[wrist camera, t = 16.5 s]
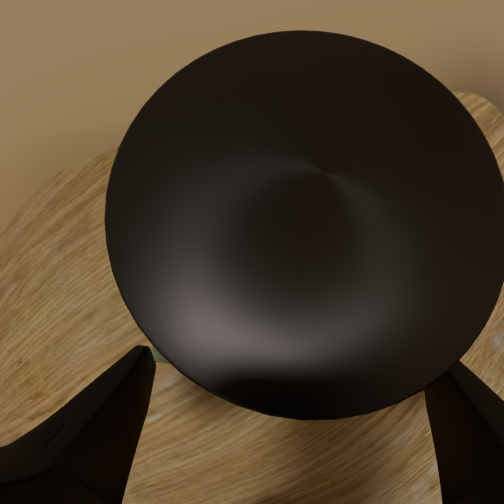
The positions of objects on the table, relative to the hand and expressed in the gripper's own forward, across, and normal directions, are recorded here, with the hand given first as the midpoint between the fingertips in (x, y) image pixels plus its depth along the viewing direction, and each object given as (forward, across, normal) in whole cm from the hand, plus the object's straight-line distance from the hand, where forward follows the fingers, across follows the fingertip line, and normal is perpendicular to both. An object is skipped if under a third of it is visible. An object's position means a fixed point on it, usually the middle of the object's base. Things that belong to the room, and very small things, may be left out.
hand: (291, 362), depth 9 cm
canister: (+8, 0, +2) cm, 8 cm away
